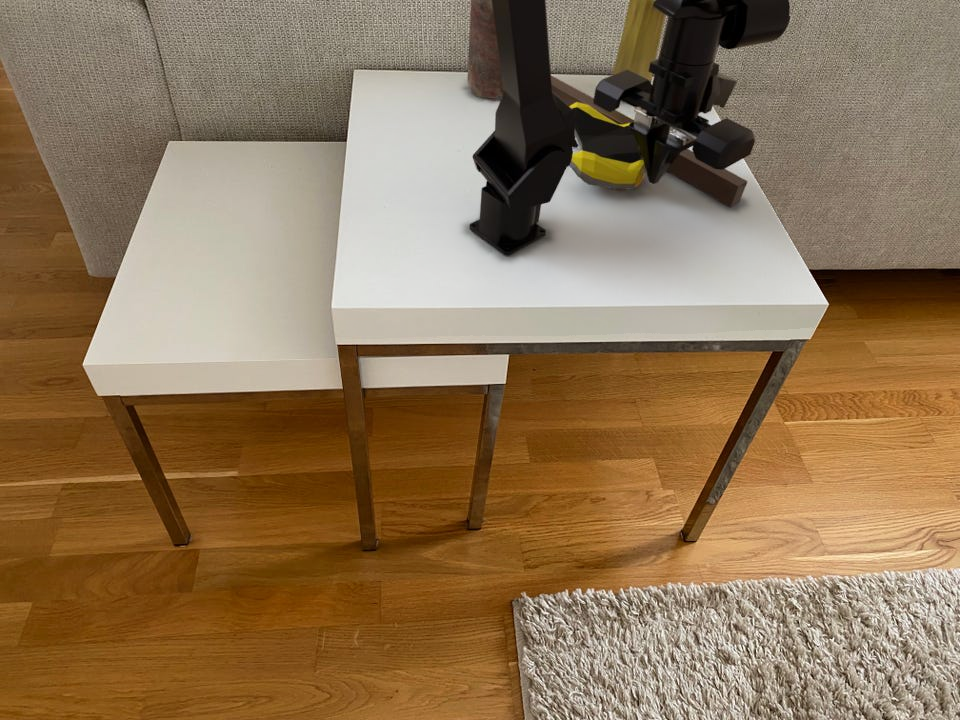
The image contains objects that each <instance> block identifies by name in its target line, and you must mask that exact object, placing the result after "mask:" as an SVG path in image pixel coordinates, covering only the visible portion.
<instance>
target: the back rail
mask: <svg viewBox="0 0 960 720" xmlns="http://www.w3.org/2000/svg"><path fill="white" fill-rule="evenodd" d="M551 83H552V91H553V92H554V93H555V94H556V95H557V96H558V97H559V98H560V99H562V100H563V101H564V102H565V103H566V104H567V105H568V106H570V105H572V104H574V103H576V102H579V103H583V104H587V105H589V106H590V107H592V108H593V109H595V110H596V111H598V112H599V113H601V114H602V115H604V116H605V117H607V118H609V119H610V120H612V121H613V122H615V123H617V124H621V125H624V124H628V123H632V122H634V119H633V118H631V117H629V116H628V115H626V114H623V113H622V112H620V111H618V110H617V109H616V110H614V111H612V112H608V111H606V110H604V109H602V108H601V107H599V106H597V105H595V104H594V103H593V100H594V97H592V96H590V95H589V94H586V93H585V92H583V91H581V90H579V89H577V88H575V87H573V86H572V85H569V84H568V83H566V82H565V81H562V80H561V79H559V78H558V77H555V76H554V75H551ZM639 151H640V149H639ZM640 156H641V158H642V154H641V151H640ZM666 172H668V173H669V174H671V175H673V176H674V177H677V178H678V179H680V180H682V181H684V182H685V183H687V184H689V185H691V186H693V188H696V189H698V190H699V191H701V192H703V193H705V194H706V195H708V196H710V197H712V198H713V199H715V200H717V201H719V202H721V203H722V204H724V205H726V206H728V207H730V208H732V207H733V206H735V205H737V204H738V203H740V201H741V199H742V197H743V195H744V192H745V189H746V186H747V184H748V180H747V179H745V178H743V177H741V176H739V175H737V174H735V173H734V172H731V171H730V170H728V169H727V168H725V169H723V170H719V169H714V168H712V167H710V166H708V165H707V164H705V163H703V162H701V161H699V160H697V159H696V158H695V155H694V153H693V150H692V149H691V150H690V148H688V149H686V150H684V151H682V152H681V153H680V154H679V155H678V156H677V157H676V159H675V160H674V161H673V163H672V164H671V165H670V167H669V168H668V170H667V171H666Z"/></svg>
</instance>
